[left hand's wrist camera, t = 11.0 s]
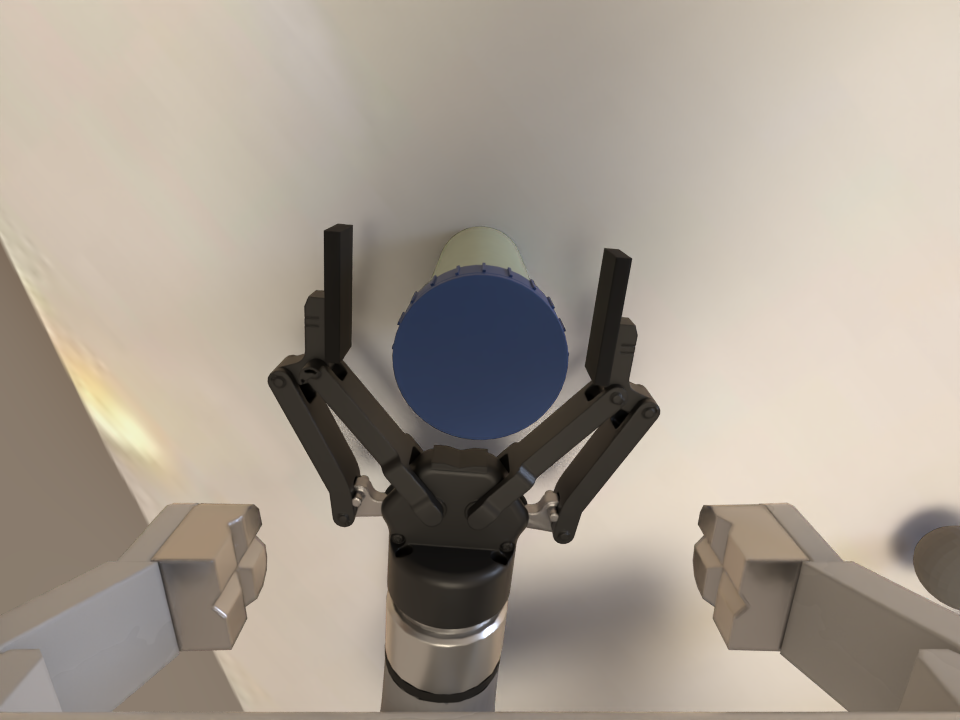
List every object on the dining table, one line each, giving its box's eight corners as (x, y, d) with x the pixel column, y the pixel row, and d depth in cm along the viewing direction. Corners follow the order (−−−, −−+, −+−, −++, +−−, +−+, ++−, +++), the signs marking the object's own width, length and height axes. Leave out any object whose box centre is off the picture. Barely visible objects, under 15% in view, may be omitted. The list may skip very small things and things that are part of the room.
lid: (596, 353, 21) (607, 371, 19) (471, 447, 22) (471, 472, 20) (490, 226, 19) (491, 233, 18) (363, 336, 21) (352, 353, 19)
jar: (539, 273, 34) (583, 365, 19) (475, 325, 35) (472, 449, 21) (485, 208, 33) (488, 253, 18) (421, 264, 34) (375, 349, 19)
